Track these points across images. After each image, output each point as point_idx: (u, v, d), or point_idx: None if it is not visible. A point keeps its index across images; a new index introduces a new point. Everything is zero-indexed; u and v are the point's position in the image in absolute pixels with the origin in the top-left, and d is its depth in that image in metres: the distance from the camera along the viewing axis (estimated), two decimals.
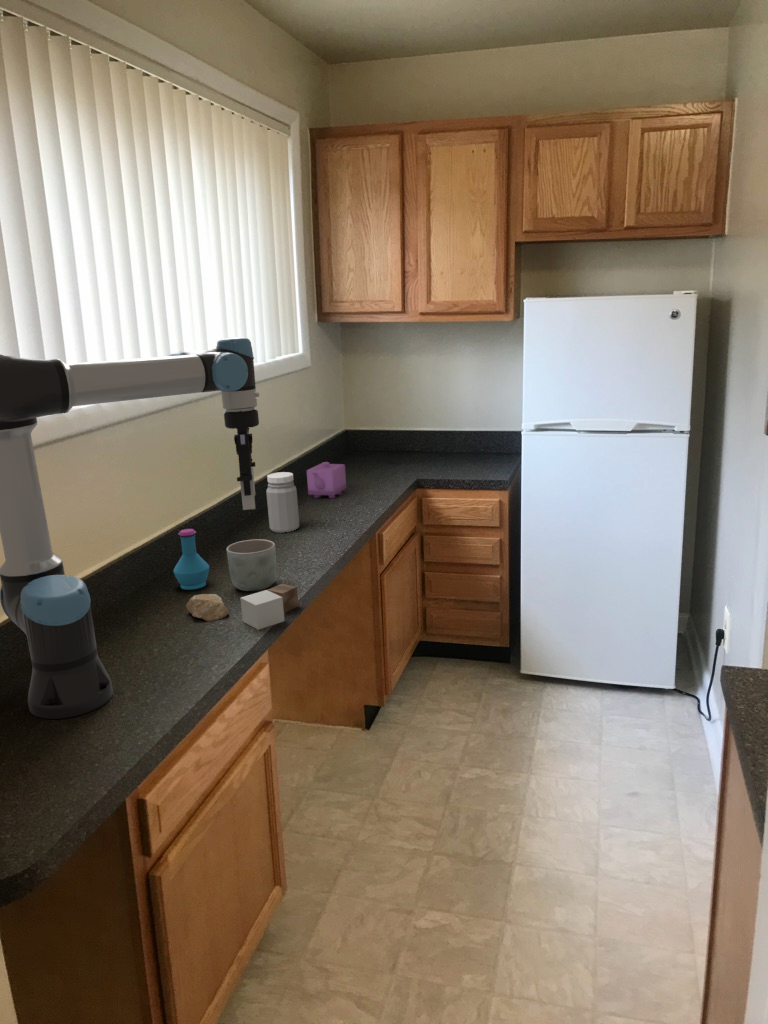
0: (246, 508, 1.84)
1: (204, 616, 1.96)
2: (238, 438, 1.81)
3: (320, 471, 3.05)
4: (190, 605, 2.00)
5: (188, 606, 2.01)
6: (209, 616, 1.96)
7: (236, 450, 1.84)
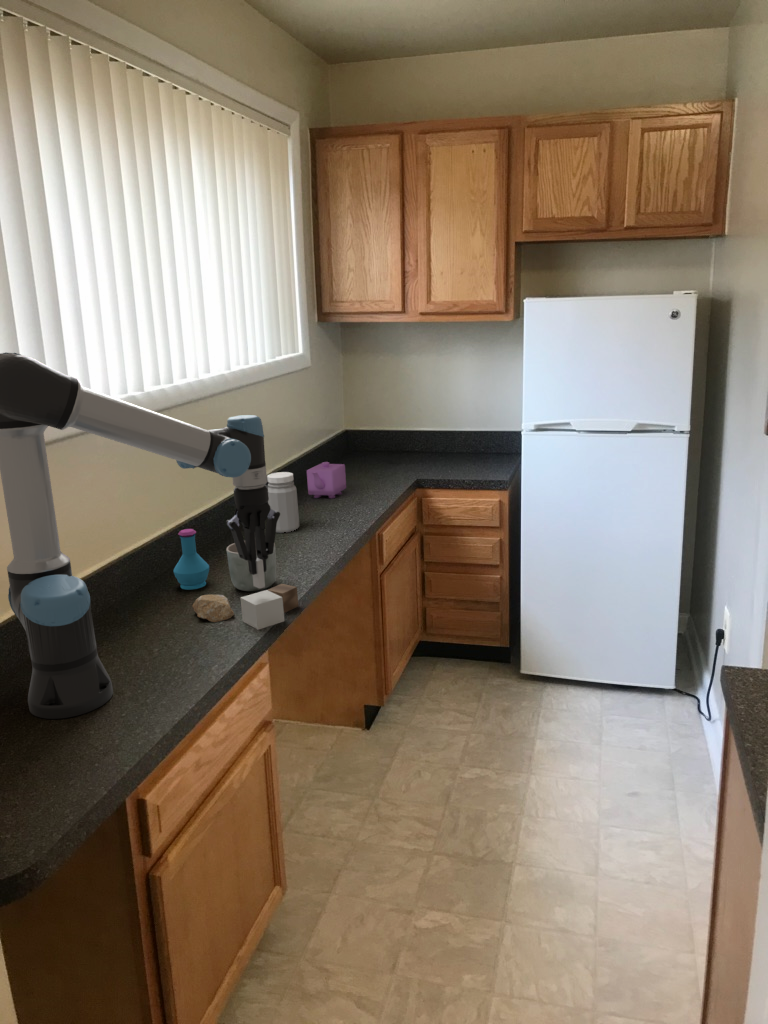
0: (255, 585, 1.92)
1: (208, 617, 1.96)
2: (227, 525, 1.85)
3: (320, 471, 3.05)
4: (196, 605, 1.99)
5: (194, 607, 2.00)
6: (214, 617, 1.96)
7: (243, 528, 1.89)
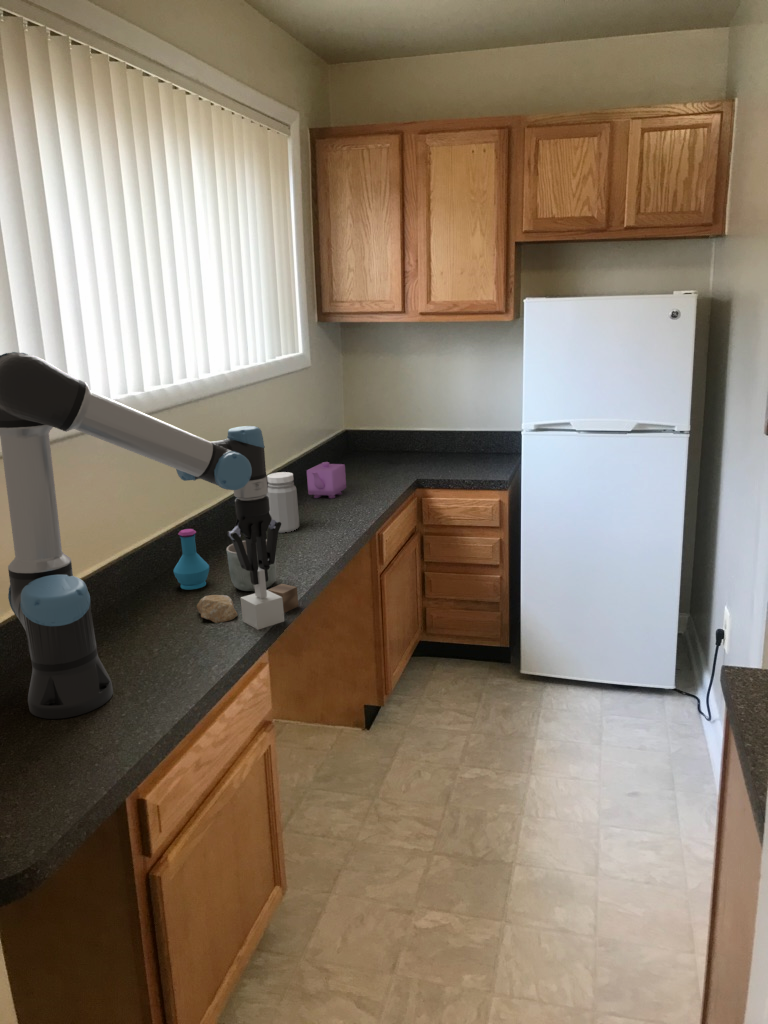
0: (257, 595, 1.93)
1: (212, 617, 1.95)
2: (228, 535, 1.86)
3: (320, 471, 3.05)
4: (200, 606, 1.99)
5: (198, 607, 2.00)
6: (217, 617, 1.95)
7: (244, 538, 1.89)
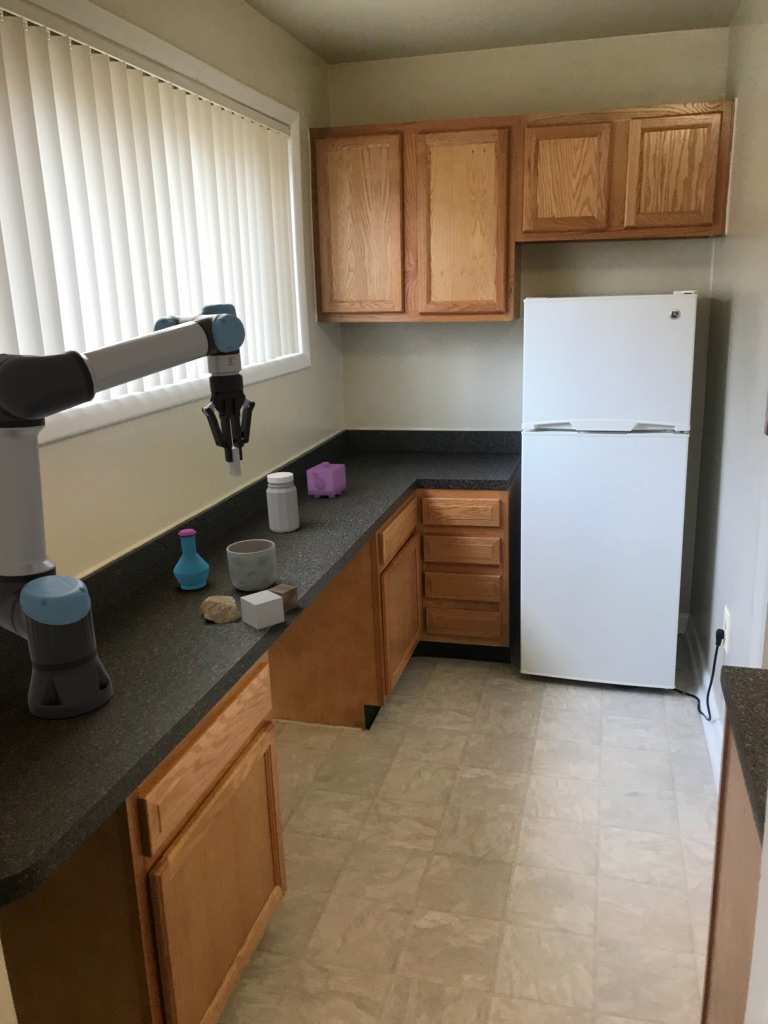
0: (231, 474, 1.97)
1: (214, 618, 1.95)
2: (203, 411, 1.90)
3: (320, 471, 3.05)
4: (203, 606, 1.98)
5: (201, 608, 1.99)
6: (220, 619, 1.95)
7: (219, 416, 1.94)
